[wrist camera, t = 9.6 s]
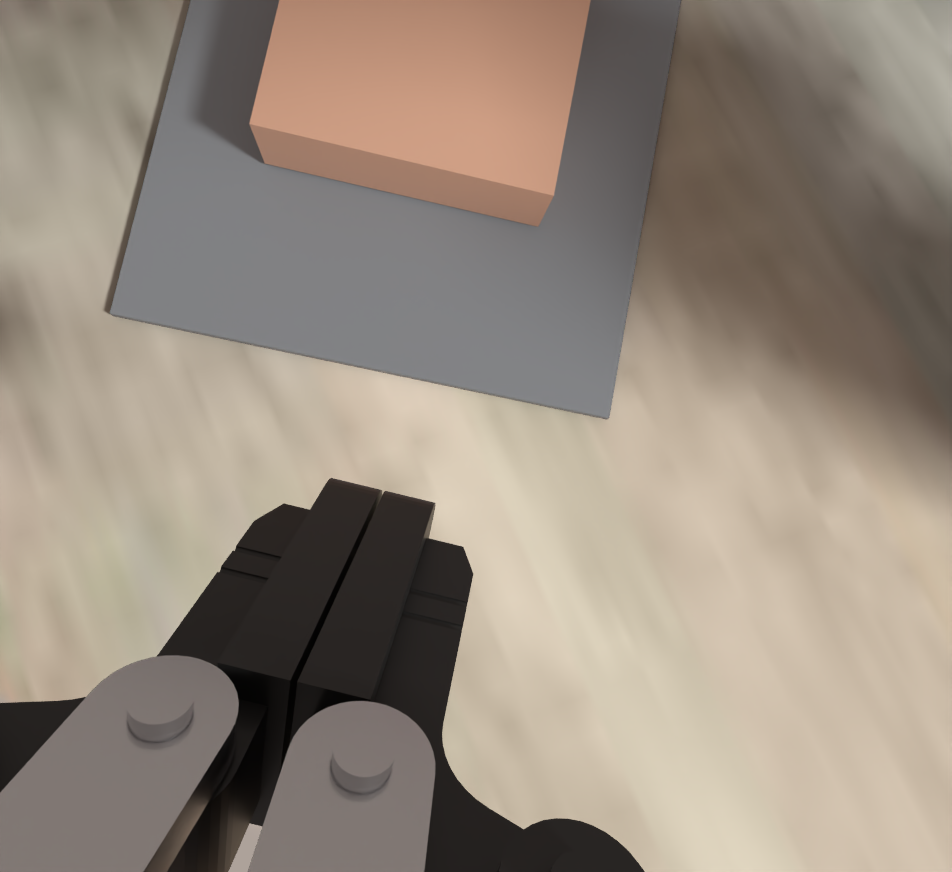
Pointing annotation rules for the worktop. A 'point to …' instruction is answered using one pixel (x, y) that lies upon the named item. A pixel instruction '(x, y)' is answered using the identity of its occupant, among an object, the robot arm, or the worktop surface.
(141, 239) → the mat
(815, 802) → the worktop surface
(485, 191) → the tile
